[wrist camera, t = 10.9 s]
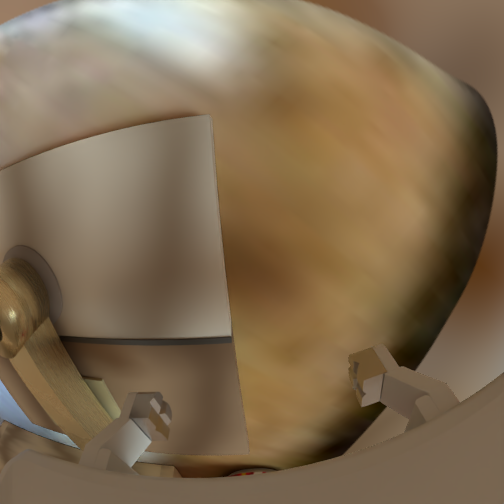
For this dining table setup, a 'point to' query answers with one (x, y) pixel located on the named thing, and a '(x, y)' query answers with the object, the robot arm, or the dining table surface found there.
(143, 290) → the door mockup
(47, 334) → the latch arm
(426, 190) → the dining table surface
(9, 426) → the box
